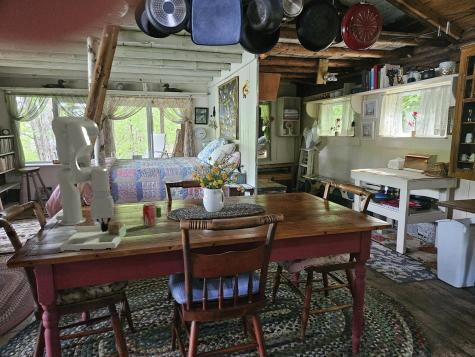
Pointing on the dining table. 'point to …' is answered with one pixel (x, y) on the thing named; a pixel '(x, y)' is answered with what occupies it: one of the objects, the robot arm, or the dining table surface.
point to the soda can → (149, 214)
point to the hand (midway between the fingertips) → (105, 231)
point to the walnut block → (114, 228)
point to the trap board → (93, 238)
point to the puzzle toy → (158, 211)
